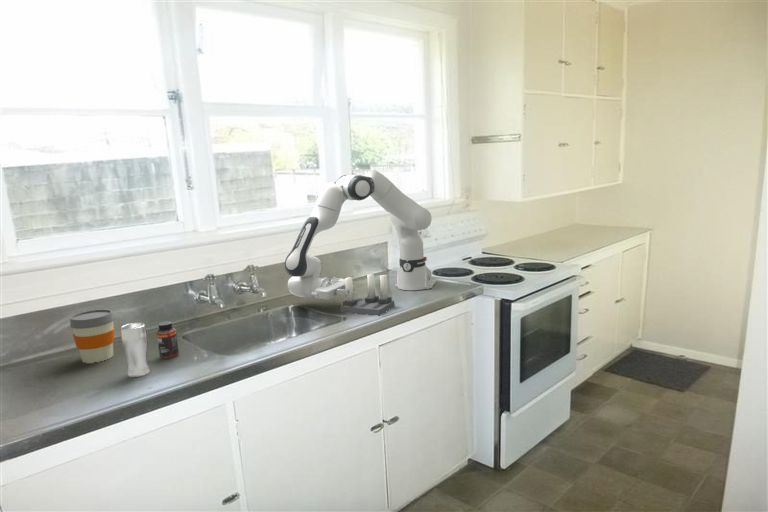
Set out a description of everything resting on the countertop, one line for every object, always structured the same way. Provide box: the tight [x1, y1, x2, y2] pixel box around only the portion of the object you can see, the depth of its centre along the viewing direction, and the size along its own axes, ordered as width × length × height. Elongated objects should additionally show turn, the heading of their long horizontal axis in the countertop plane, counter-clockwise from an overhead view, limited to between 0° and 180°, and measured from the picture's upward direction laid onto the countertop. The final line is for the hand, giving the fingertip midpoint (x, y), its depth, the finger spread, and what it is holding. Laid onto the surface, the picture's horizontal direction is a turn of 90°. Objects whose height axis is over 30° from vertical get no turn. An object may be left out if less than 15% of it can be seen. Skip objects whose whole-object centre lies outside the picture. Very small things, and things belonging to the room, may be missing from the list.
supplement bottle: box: [156, 320, 180, 360], centre depth 170 cm, size 6×6×11 cm
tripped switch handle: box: [342, 276, 357, 306], centre depth 213 cm, size 5×4×11 cm
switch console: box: [339, 273, 396, 317], centre depth 214 cm, size 14×18×14 cm
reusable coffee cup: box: [69, 308, 115, 364], centre depth 171 cm, size 13×13×15 cm
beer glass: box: [120, 322, 151, 378], centre depth 156 cm, size 7×7×15 cm
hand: (351, 290), depth 213 cm, fingers closed on tripped switch handle, 3 cm apart
